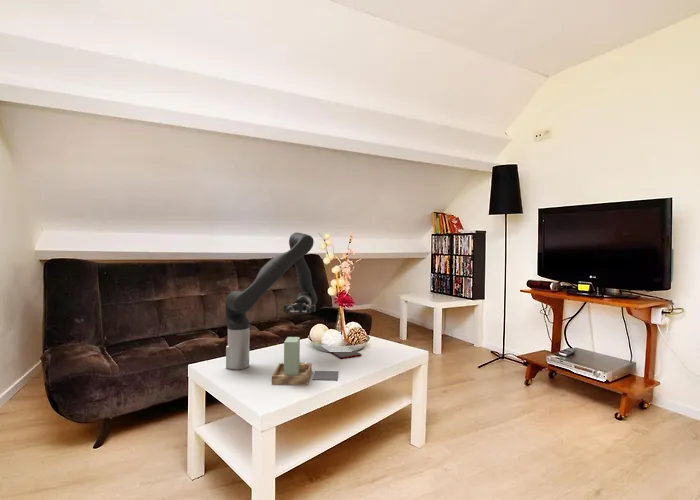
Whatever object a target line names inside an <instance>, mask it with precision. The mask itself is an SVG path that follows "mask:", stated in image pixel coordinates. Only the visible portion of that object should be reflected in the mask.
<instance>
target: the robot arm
mask: <svg viewBox="0 0 700 500" xmlns="http://www.w3.org/2000/svg"><path fill="white" fill-rule="evenodd" d="M314 243H315V241H314V238H313V237H312V236H311V235H309V234H306V233H302V232H294V233H292V234H291V235H290V236H289V239H288V245H289V246H288V247H289V250H287V251H285V252H283V253H280V254H279V255H276V256H275V257H272V258H271V259H269V260H268V261H267V262H266V263H265V264H264V265H263V266H262V267H261V268H260V269H259V271H258V273H257V275H256V278H255V279H254V280H253V282H252V283H251V284H250V285H249V286H248V287H247V288H245V289H244V290H243V291H239V290H233V291H231V292H230V293H229V294H228V295H226V299H225V322H226V325H227V345H226V347H225V369H230V370H237V371H238V370H243V369H247V368H249V366H250V320H249V319H248V317H247V315H246V313H248V312H249V311H251V309H252V308H253V307H254V305H255V304H256V303H257V302H258V301H259V299H260V298H261V297H262V296H263V295H264V294H265V293H267V291H269V290H270V288H271V287H272V286H273V285H274V284H275V283H277V281H279V280H280V278H282V276H284V274H285V273H286V272H287V271H288V270H289V269H291V268H292V266H293V265H294V266H295V270H296V276H297V284H298V288H299V290H300V291H303V292H299V293H298V294H297V295H296V296H297V297H296V300H295V301H294V303H292V304H289V303H286V304H284V305H283V313H284V312H285V313H287V314H290V313H297V314H299V315H304V314H307V315H308V314H310V313H311V312H312V313H315V312H316V304H317V303H318V296H317V293H316V291H315V288H314V286H313V282H312V280H313V279H312V273H311V270H310V268H309V265H308V264H307V262H306V259H305V255H307V254H308V253H309V252H310V251H311V250H312V248H313V246H314ZM304 291H305V292H304Z"/></svg>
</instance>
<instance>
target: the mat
mask: <svg viewBox="0 0 700 500" xmlns="http://www.w3.org/2000/svg"><path fill="white" fill-rule="evenodd" d="M338 378H339V370H315V371H314V374H313V377H312V381H338Z"/></svg>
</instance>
